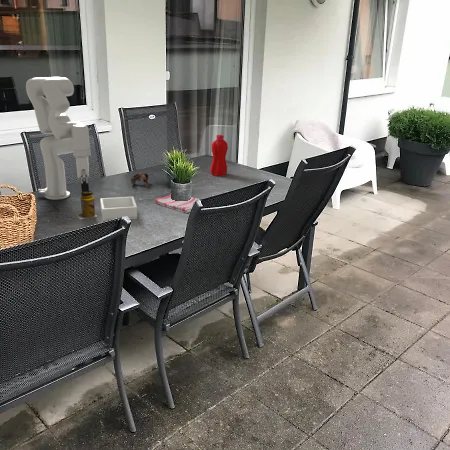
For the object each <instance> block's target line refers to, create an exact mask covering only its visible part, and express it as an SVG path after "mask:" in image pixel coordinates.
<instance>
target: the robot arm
mask: <svg viewBox="0 0 450 450" xmlns="http://www.w3.org/2000/svg"><path fill="white" fill-rule="evenodd" d="M25 83H26V84H25V90H26V94H27V96H28V99H29V101H30V102H31V104H32V107H33V109H34V113H35V117H36V121H37V126H38V128H39V131H40V133H41V134H42V135H43V134H44V135H50V134H51V135H52V134H53V135H52V136H51V135H50V136H46V137H44V138H42V139H41V140H40V141H39V146H40V150H41V154H42V158H43V164H44V165H43V166H44V173H45V183H46V187H45V188H38V190H37V191H38V194H39V193H40V195H43V194H44V198H46V199H47V200H53V201H55V200H64V199H67V198H69V197H70V195H71V192H70V191H68V190H67V181H66V172H65V163H64V160H63V159H61V158H60V157H59V156H60V155H66V154H73V157H74V158H75V163H76V175H77V179H78V180H80V187H81V192H89V191H90V187H89V176H90V174H89V173H90V168H89V167H90V165H89V157H91V156H92V155H91V143H90V132H89V127H88V126H87V125H86V124H83V122H82V121H72V120H71V118H70V117H69V116H68V115H67V114H66V112H67V111H68V110H69V109H70V105H71V104H70V102H69V100H68V98H67V97H71V96H73V94H74V92H75V86H74V84H73V82H72V81H71V80H70V79H69V78H68V77H61V76H51V77H50V76H49V77H46V76H45V77H42V76H41V77H33V78H29V79H28V80H27V81H26V82H25Z"/></svg>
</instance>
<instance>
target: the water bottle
mask: <svg viewBox="0 0 450 450" xmlns="http://www.w3.org/2000/svg"><path fill="white" fill-rule="evenodd" d="M224 136H225V135H223V134H216V140H214V141H213V142H212V144H211V153H212V160H211V161H212V162H211V166H210V174H211V175H212V176H216V177H223V176H225V175H227V173H228V166H227V160H226V158H227V153H228V150H229V147H228V142H227V141H226V140H224Z"/></svg>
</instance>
